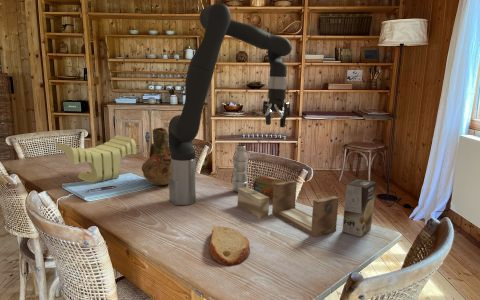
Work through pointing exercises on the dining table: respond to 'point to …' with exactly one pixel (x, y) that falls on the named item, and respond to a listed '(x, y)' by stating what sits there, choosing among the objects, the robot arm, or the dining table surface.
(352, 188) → the coffee box
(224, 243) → the slice of bread
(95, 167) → the yellow slatted rack
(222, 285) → the dining table surface
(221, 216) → the dining table surface
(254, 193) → the birch block
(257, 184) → the tin
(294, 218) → the holder
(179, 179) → the robot arm
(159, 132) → the ceramic vessel
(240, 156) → the grey bottle
